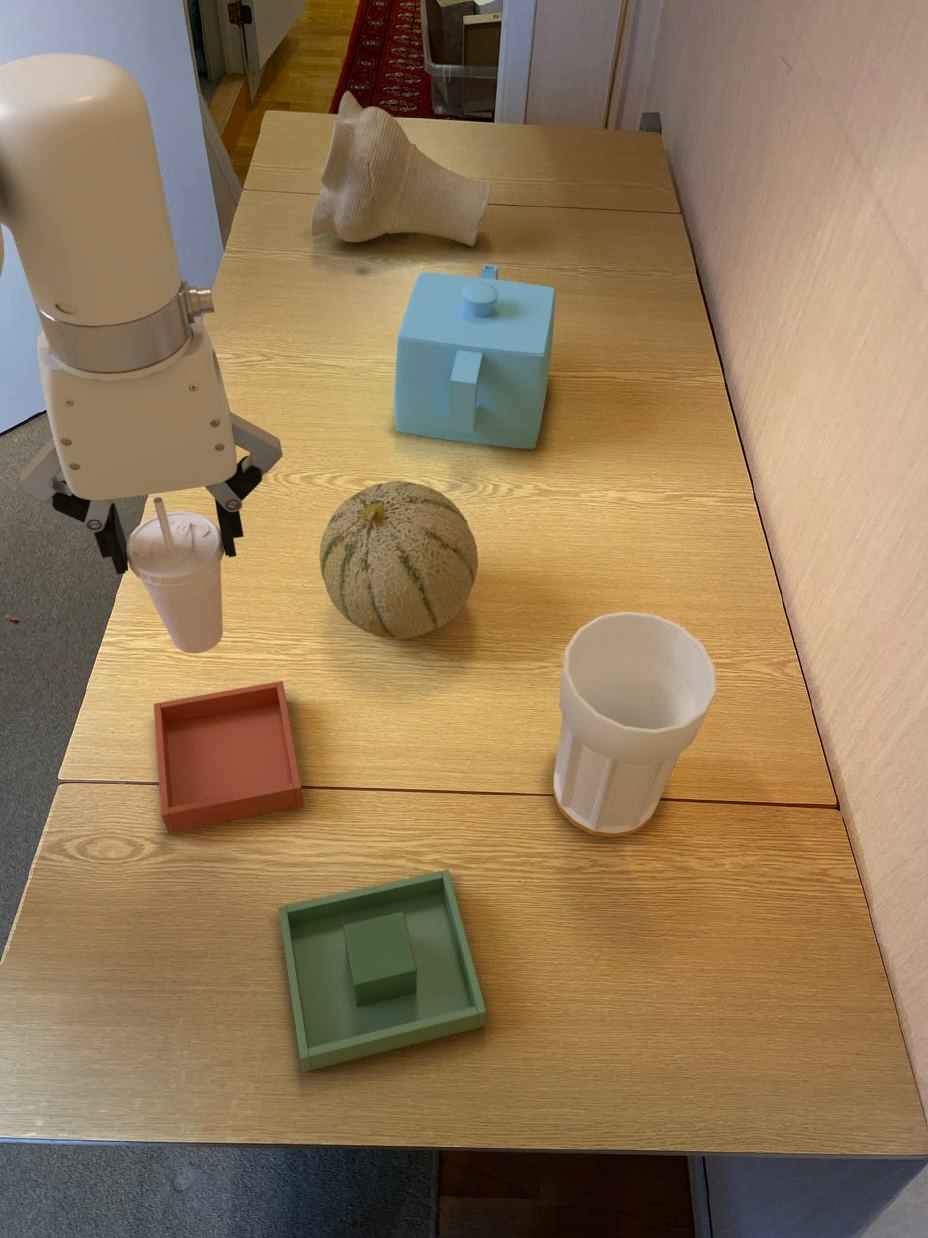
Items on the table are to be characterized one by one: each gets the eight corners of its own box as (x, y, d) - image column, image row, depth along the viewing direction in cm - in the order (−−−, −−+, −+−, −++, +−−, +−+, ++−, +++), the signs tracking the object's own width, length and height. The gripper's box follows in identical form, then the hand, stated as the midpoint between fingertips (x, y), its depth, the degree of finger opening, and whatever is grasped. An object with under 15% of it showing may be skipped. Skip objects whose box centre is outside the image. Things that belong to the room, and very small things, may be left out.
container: (385, 457, 112) (382, 341, 100) (423, 334, 128) (424, 221, 116) (533, 477, 111) (548, 362, 99) (553, 350, 127) (567, 238, 115)
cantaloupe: (501, 597, 99) (513, 486, 88) (418, 694, 91) (419, 585, 79) (383, 537, 104) (380, 423, 92) (293, 623, 96) (278, 511, 84)
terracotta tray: (168, 834, 81) (161, 815, 78) (160, 723, 87) (153, 703, 85) (304, 806, 83) (301, 787, 80) (286, 700, 90) (282, 680, 87)
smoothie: (138, 657, 72) (91, 518, 61) (175, 594, 76) (137, 453, 65) (221, 676, 71) (188, 538, 60) (254, 611, 75) (228, 471, 64)
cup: (513, 795, 84) (532, 672, 71) (590, 714, 90) (620, 587, 77) (621, 876, 80) (662, 762, 67) (695, 786, 86) (746, 665, 72)
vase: (534, 123, 141) (344, 57, 136) (539, 167, 124) (323, 94, 120) (488, 266, 154) (313, 211, 150) (487, 324, 138) (290, 264, 133)
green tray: (304, 1072, 69) (300, 1059, 67) (282, 923, 76) (278, 906, 74) (484, 1026, 72) (486, 1012, 69) (447, 886, 79) (448, 869, 76)
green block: (356, 1007, 72) (354, 985, 68) (345, 949, 74) (342, 924, 71) (416, 993, 72) (417, 970, 69) (403, 935, 75) (403, 911, 72)
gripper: (268, 266, 57) (295, 495, 70) (-51, 296, 53) (42, 532, 67) (287, 339, 52) (312, 570, 66) (-62, 378, 49) (41, 613, 62)
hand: (175, 549), depth 66 cm, fingers closed on smoothie, 6 cm apart
